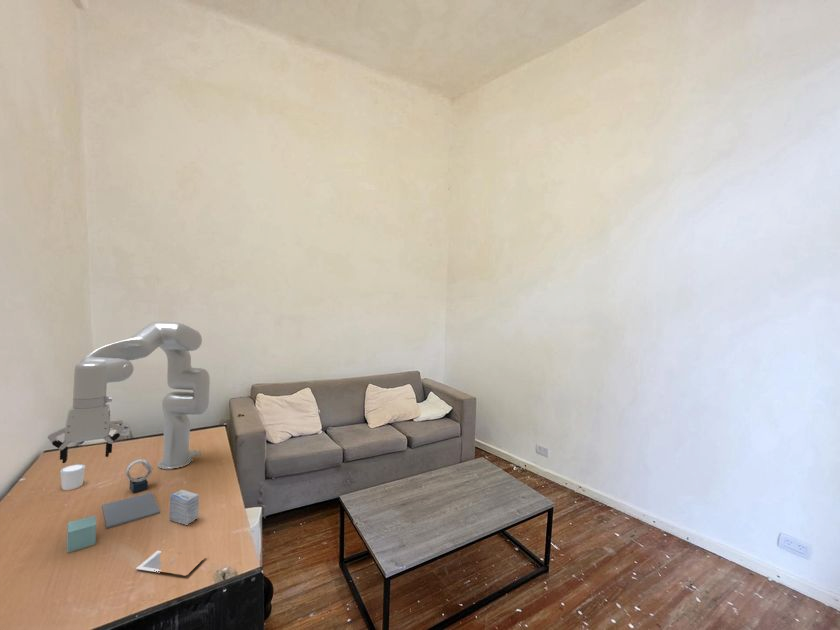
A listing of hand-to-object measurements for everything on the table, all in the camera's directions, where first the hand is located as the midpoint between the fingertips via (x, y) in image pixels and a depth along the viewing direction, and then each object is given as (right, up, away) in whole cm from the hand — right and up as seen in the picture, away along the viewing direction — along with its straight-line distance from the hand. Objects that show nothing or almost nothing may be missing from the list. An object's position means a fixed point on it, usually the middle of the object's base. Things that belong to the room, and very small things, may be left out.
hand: (86, 458), depth 113 cm
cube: (+2, -24, -4) cm, 24 cm away
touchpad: (+33, -27, -10) cm, 43 cm away
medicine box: (+23, -25, +10) cm, 35 cm away
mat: (+3, -23, +14) cm, 27 cm away
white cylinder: (-29, -21, +26) cm, 44 cm away
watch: (-5, -22, +28) cm, 36 cm away
